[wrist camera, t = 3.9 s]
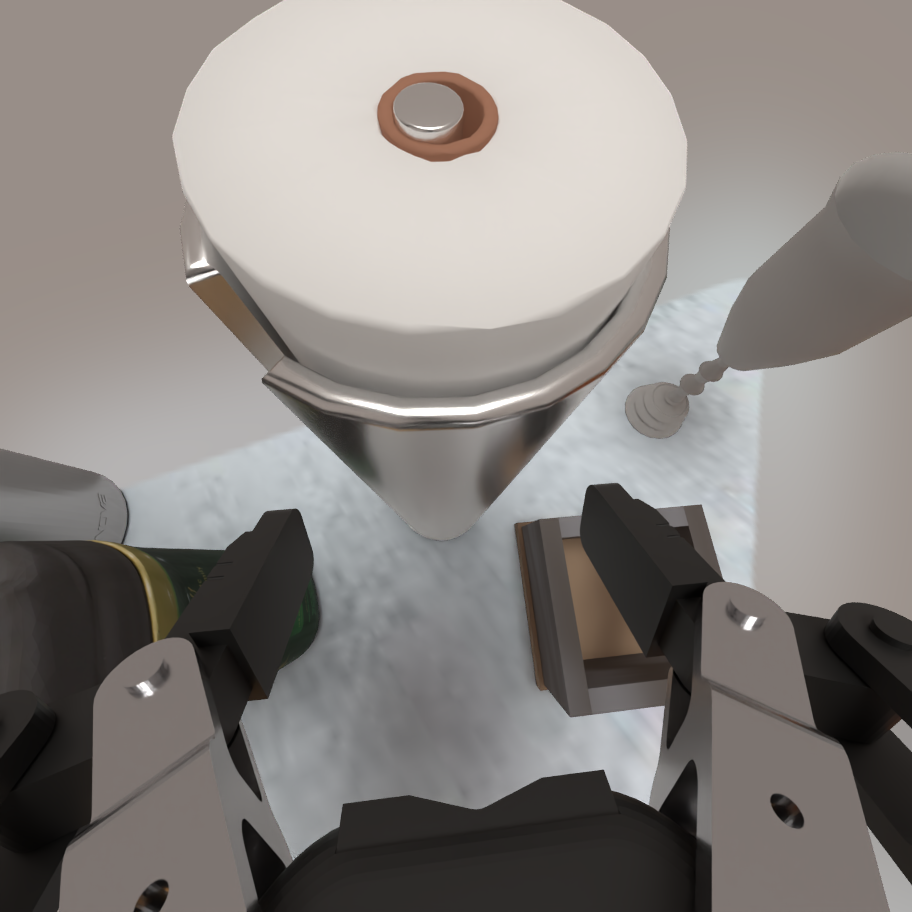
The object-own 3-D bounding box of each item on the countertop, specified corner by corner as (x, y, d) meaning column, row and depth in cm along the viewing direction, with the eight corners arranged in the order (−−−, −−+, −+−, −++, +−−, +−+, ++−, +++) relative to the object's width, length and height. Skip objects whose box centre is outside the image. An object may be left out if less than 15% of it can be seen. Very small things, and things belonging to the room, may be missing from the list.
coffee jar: (308, 536, 27) (32, 491, 9) (332, 647, 24) (36, 883, 7) (174, 580, 25) (-462, 632, 8) (188, 700, 23) (-639, 1158, 5)
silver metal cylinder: (395, 465, 28) (126, -56, 4) (474, 453, 29) (626, -72, 5) (405, 547, 27) (49, 440, 3) (489, 533, 27) (851, 327, 3)
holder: (536, 685, 24) (565, 724, 18) (514, 524, 27) (533, 514, 22) (689, 667, 25) (762, 699, 19) (650, 511, 28) (704, 499, 22)
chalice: (671, 366, 32) (943, 137, 15) (710, 433, 30) (1071, 263, 13) (599, 389, 31) (798, 173, 14) (635, 459, 29) (914, 315, 12)
